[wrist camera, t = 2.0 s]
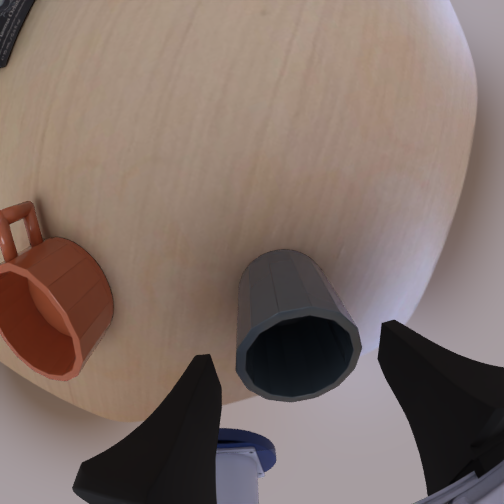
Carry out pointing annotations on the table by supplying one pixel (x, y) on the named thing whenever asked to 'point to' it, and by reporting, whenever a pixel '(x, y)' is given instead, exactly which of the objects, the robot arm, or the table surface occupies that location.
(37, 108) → the table surface
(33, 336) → the mug
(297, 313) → the grey handleless cup
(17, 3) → the box
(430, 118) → the table surface
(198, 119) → the table surface
